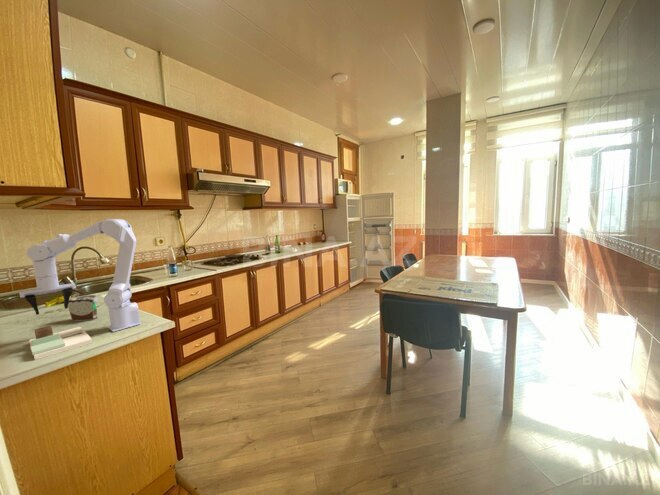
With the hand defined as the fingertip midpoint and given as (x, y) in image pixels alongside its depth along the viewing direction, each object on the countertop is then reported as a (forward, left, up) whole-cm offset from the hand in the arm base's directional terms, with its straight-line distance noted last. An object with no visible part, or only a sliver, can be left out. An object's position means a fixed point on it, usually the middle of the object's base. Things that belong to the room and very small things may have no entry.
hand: (52, 310), depth 102 cm
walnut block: (+4, +8, -10) cm, 13 cm away
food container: (-12, -15, -10) cm, 22 cm away
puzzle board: (0, +11, -10) cm, 15 cm away
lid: (+4, +16, -8) cm, 19 cm away
